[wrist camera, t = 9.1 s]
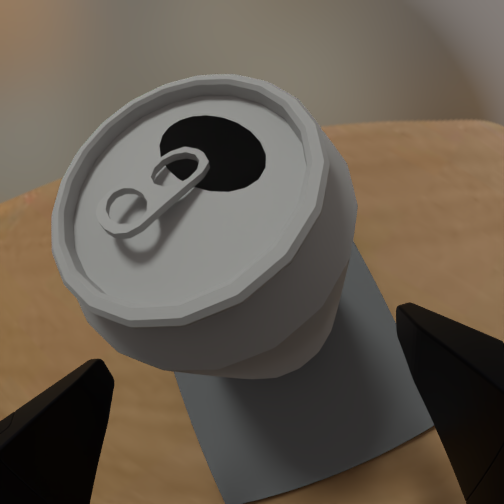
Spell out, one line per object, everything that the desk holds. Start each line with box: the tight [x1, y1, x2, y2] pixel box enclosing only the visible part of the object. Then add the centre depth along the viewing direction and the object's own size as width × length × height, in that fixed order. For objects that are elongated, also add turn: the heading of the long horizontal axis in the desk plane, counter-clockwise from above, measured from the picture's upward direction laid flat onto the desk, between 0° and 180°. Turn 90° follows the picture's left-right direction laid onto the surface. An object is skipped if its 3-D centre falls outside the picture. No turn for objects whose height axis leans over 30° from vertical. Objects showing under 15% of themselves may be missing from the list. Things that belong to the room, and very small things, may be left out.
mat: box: [174, 242, 434, 504], centre depth 17 cm, size 16×12×1 cm
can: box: [52, 74, 358, 379], centre depth 11 cm, size 8×8×12 cm
